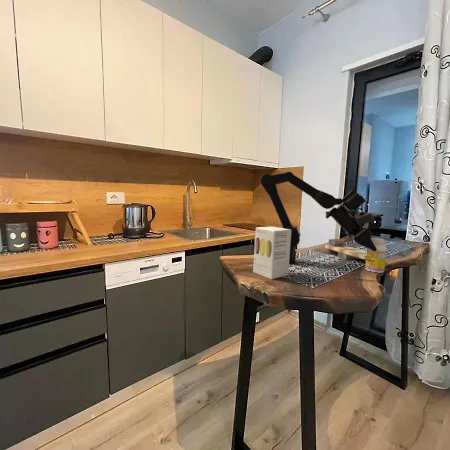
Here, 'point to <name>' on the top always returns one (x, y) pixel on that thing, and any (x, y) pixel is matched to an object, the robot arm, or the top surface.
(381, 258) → the supplement bottle
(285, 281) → the top surface
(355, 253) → the balance beam
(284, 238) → the supplement box
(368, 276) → the top surface
